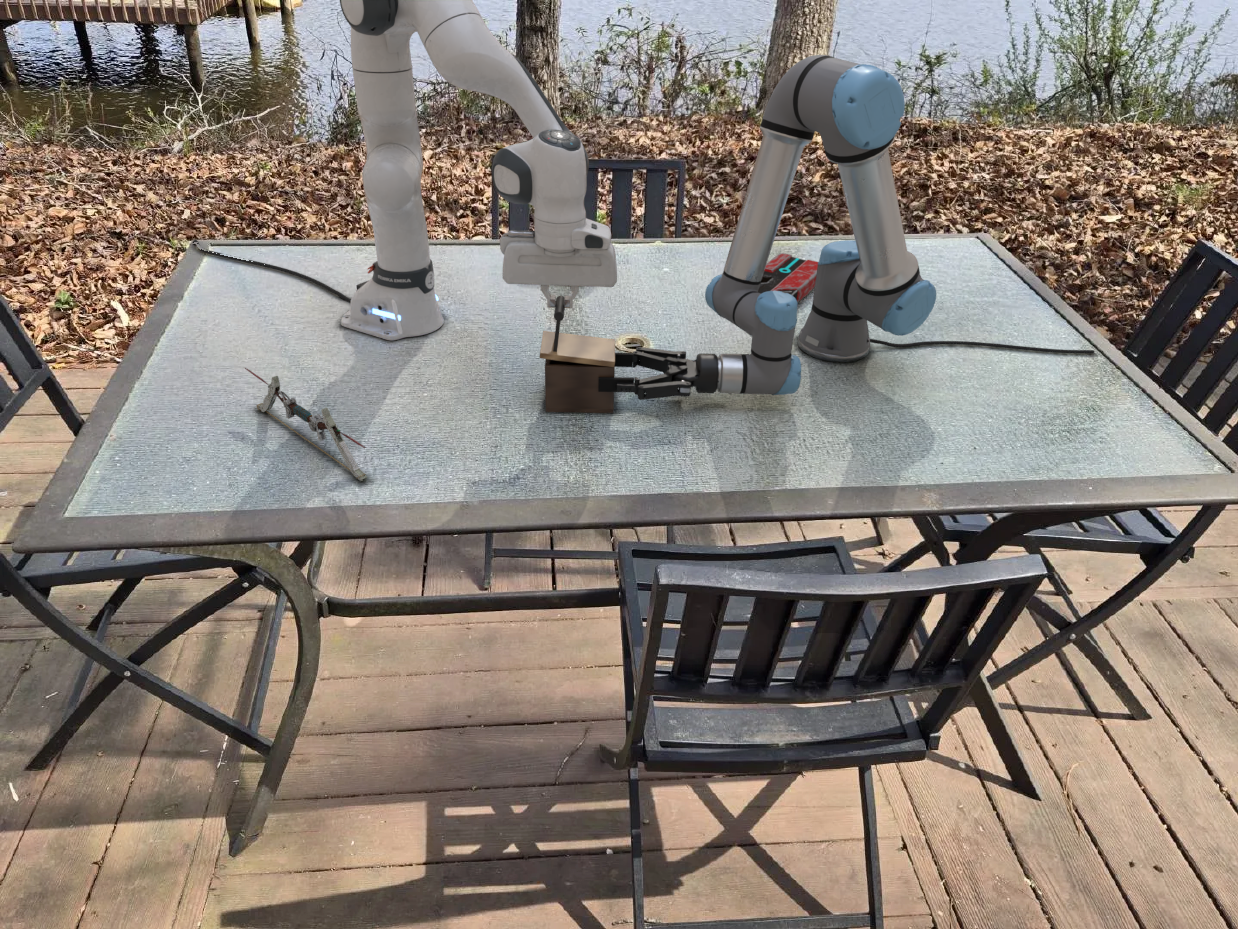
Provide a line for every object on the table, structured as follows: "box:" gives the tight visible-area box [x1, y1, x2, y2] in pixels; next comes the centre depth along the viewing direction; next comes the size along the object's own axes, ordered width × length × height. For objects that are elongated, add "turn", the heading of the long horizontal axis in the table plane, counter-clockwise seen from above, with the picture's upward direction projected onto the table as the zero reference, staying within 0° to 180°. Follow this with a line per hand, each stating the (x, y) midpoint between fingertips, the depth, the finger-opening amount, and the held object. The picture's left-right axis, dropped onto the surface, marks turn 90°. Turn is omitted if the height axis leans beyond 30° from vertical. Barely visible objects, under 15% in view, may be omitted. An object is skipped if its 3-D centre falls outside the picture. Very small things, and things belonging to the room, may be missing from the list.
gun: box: [758, 252, 819, 303], centre depth 215 cm, size 4×31×19 cm
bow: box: [244, 367, 368, 482], centre depth 151 cm, size 39×2×10 cm, turn 47°
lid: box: [539, 295, 616, 367], centre depth 161 cm, size 14×9×9 cm
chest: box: [544, 359, 616, 414], centre depth 166 cm, size 13×9×10 cm
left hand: (560, 306), depth 158 cm, fingers closed, pressing on lid
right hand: (598, 371), depth 165 cm, fingers closed on chest, 9 cm apart
